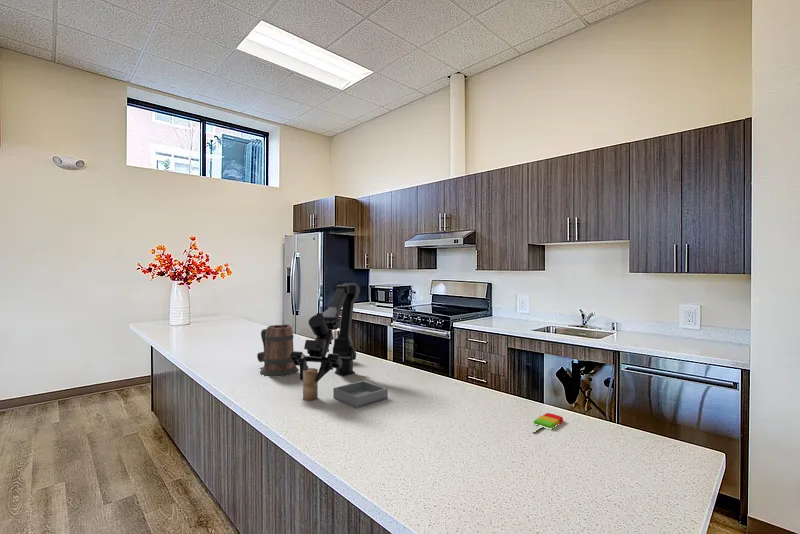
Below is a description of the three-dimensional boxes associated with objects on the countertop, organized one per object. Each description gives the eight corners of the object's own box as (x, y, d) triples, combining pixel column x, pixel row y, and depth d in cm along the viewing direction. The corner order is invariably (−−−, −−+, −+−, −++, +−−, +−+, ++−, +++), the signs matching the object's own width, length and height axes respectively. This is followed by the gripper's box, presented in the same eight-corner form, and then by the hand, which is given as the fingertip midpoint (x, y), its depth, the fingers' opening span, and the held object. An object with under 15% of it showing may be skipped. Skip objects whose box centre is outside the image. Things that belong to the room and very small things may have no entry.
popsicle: (564, 422, 122) (564, 416, 122) (542, 438, 111) (542, 431, 111) (547, 417, 126) (547, 411, 126) (523, 432, 115) (523, 425, 115)
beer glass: (346, 358, 201) (347, 328, 201) (343, 361, 194) (343, 330, 194) (333, 357, 202) (333, 327, 202) (329, 361, 195) (329, 330, 195)
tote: (363, 389, 151) (363, 380, 151) (387, 398, 142) (387, 388, 142) (333, 397, 142) (333, 388, 142) (357, 408, 132) (357, 397, 132)
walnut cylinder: (312, 395, 145) (312, 367, 145) (320, 398, 141) (320, 370, 141) (300, 398, 141) (300, 370, 141) (307, 401, 138) (307, 372, 138)
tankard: (307, 370, 178) (307, 325, 177) (274, 379, 164) (274, 330, 164) (274, 362, 192) (274, 320, 192) (242, 369, 178) (242, 325, 178)
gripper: (291, 329, 147) (275, 367, 137) (339, 331, 143) (326, 370, 132) (301, 346, 155) (287, 383, 144) (347, 349, 151) (335, 387, 140)
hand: (308, 380), depth 140 cm, fingers open, 6 cm apart
